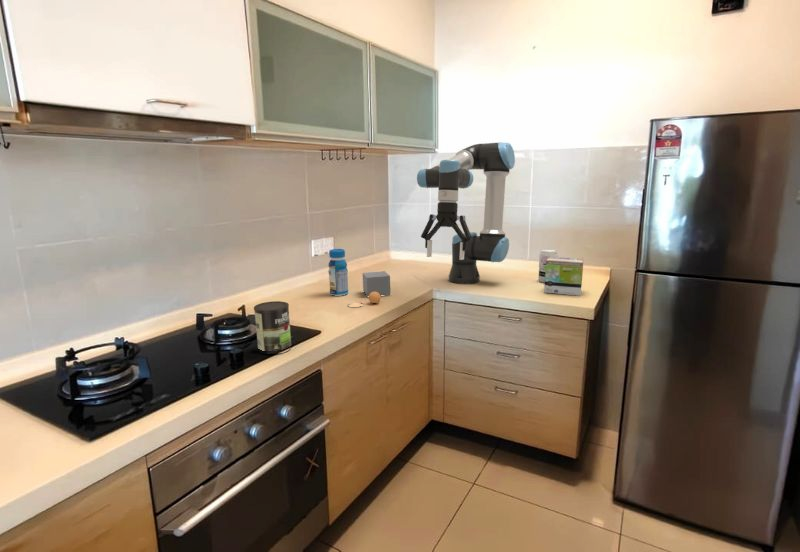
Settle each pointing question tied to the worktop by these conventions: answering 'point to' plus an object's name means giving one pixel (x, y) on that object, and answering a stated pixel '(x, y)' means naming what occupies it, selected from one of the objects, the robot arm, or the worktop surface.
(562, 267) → the tea box
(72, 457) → the worktop surface
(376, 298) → the ball
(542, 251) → the white carton
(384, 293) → the gray rectangular box
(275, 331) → the coffee can
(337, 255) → the beverage bottle
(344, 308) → the worktop surface
